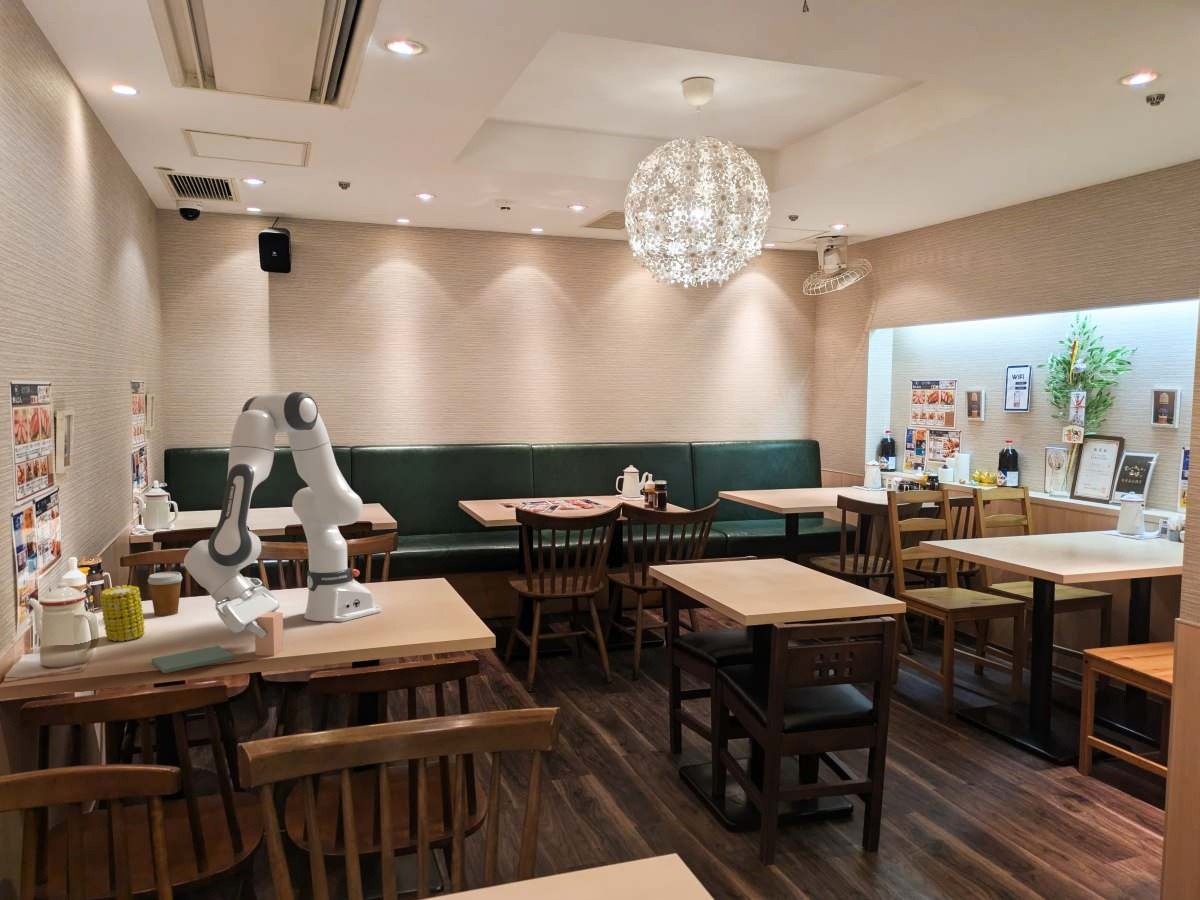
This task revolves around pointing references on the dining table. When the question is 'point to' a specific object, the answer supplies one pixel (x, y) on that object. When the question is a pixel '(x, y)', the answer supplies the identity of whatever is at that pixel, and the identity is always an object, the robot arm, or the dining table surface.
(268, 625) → the terracotta block
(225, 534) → the robot arm
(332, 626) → the dining table surface
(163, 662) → the green pad
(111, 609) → the food
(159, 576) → the disposable coffee cup
